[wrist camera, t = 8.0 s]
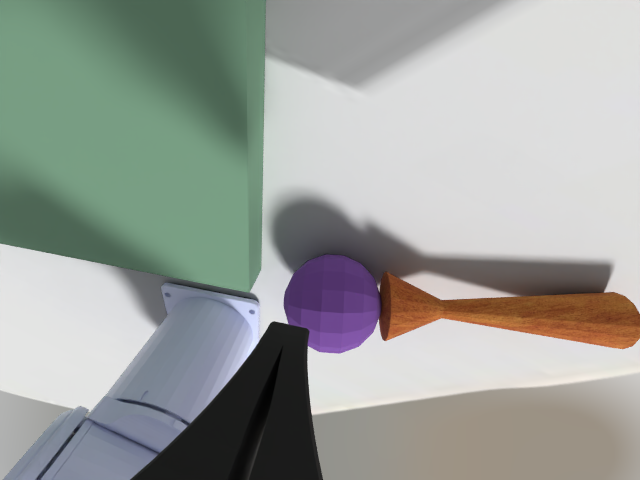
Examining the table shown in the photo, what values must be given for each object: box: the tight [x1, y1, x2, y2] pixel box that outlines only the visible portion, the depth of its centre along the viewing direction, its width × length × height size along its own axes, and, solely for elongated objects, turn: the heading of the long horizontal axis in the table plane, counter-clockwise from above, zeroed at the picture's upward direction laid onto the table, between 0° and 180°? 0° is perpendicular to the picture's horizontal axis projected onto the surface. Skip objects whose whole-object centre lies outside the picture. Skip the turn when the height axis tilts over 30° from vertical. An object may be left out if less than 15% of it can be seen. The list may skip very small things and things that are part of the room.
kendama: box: [284, 255, 640, 353], centre depth 18 cm, size 6×6×20 cm
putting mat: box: [0, 0, 266, 293], centre depth 17 cm, size 16×24×2 cm, turn 83°
